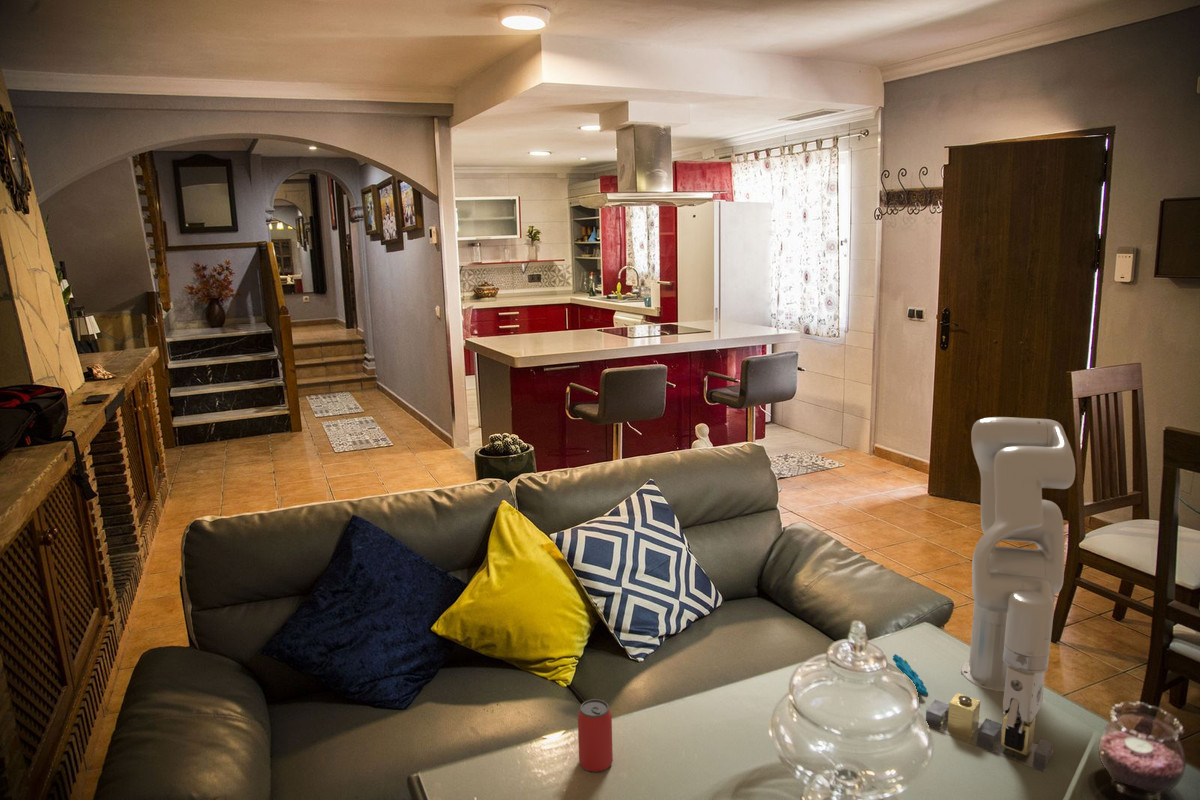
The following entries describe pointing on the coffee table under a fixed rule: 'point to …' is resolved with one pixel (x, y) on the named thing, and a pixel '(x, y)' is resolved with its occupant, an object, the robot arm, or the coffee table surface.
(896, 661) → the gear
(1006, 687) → the robot arm
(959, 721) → the seated nut block
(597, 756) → the beer can
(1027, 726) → the brass nut block
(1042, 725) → the coffee table surface
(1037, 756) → the rail
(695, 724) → the coffee table surface
